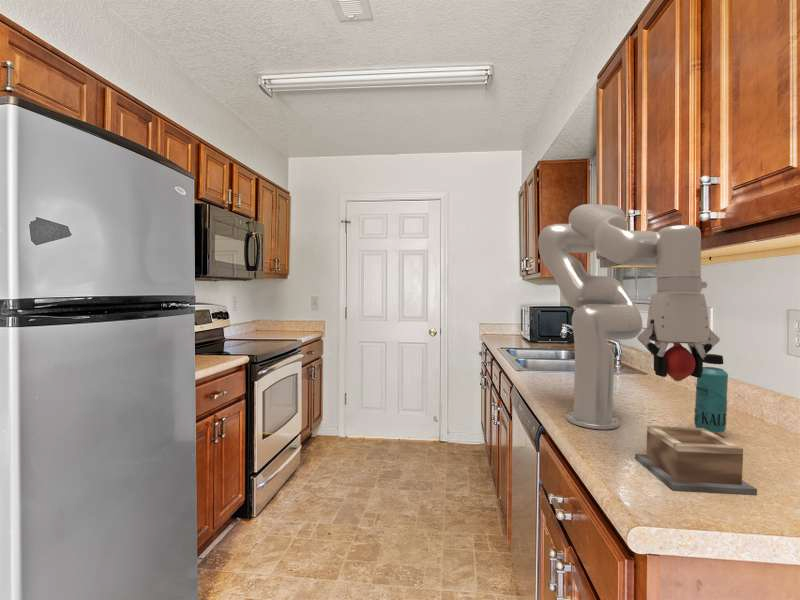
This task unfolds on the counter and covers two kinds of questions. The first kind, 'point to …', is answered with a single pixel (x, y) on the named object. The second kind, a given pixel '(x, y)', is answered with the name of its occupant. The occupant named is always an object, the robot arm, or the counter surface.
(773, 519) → the counter surface
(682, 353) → the pomegranate
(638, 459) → the open square box
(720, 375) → the beverage bottle
